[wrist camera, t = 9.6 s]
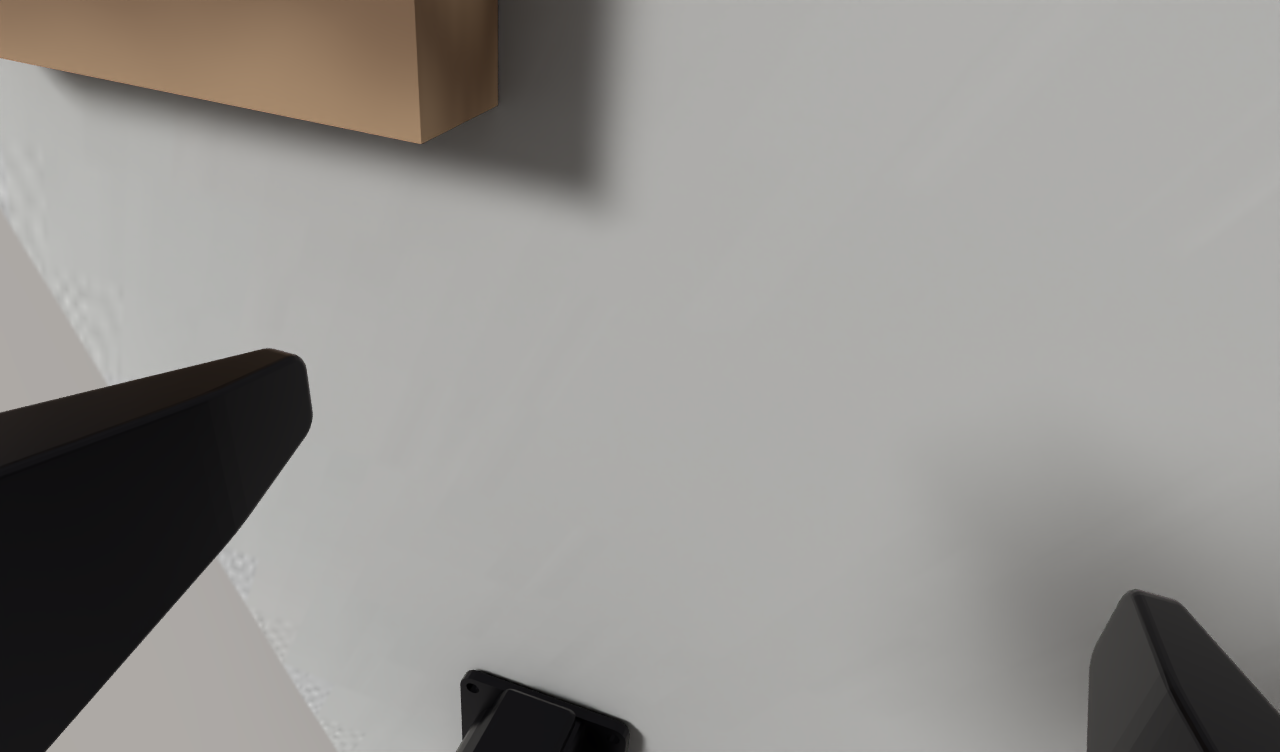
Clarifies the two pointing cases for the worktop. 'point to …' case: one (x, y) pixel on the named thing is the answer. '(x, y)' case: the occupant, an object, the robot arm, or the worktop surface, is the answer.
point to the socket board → (280, 55)
